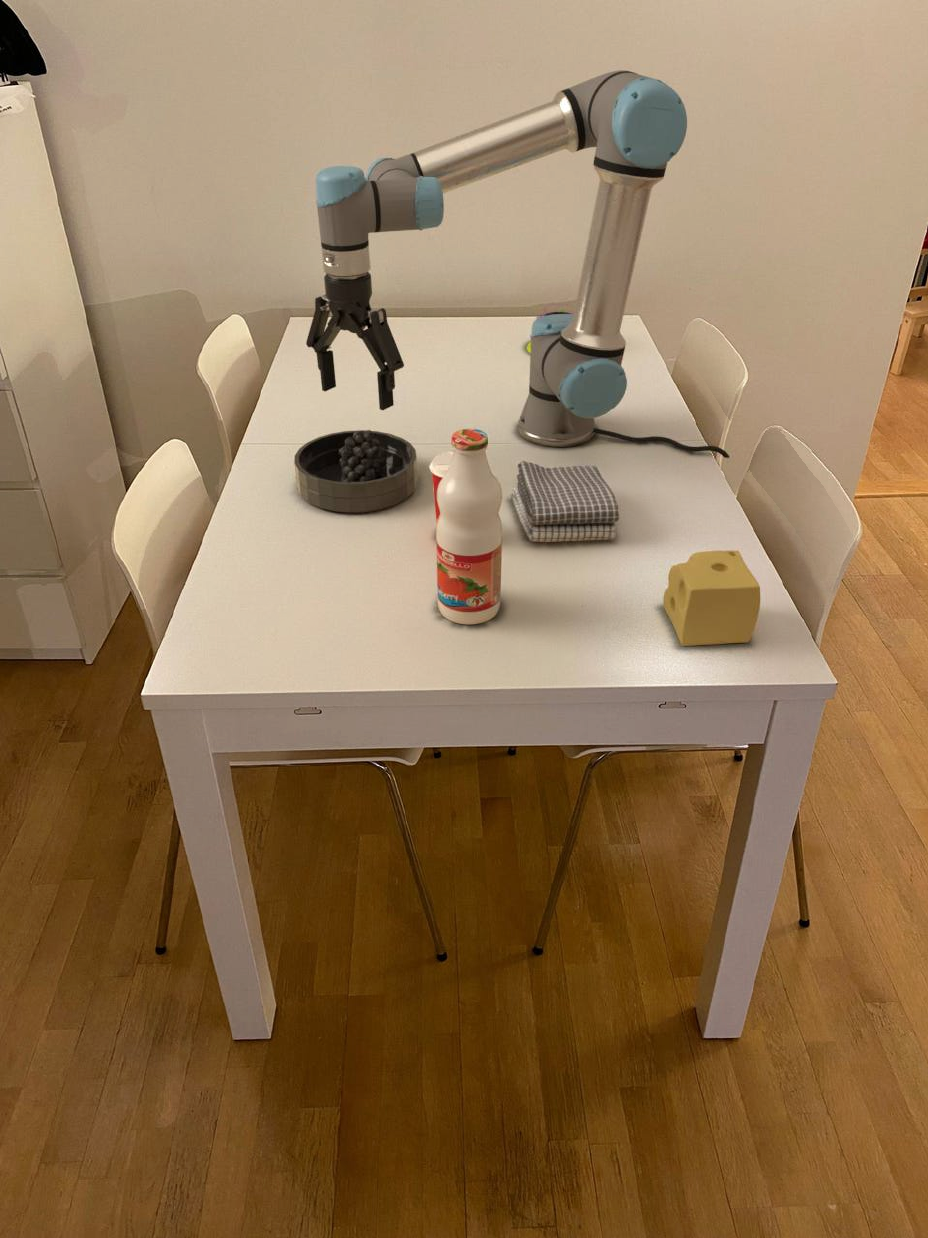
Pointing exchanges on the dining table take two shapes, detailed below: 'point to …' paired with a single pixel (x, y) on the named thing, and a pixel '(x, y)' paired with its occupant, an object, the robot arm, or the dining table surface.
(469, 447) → the fruit juice
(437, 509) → the paper cup
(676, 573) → the cheese
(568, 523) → the towel
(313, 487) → the bowl
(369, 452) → the fruit
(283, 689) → the dining table surface
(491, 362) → the dining table surface
